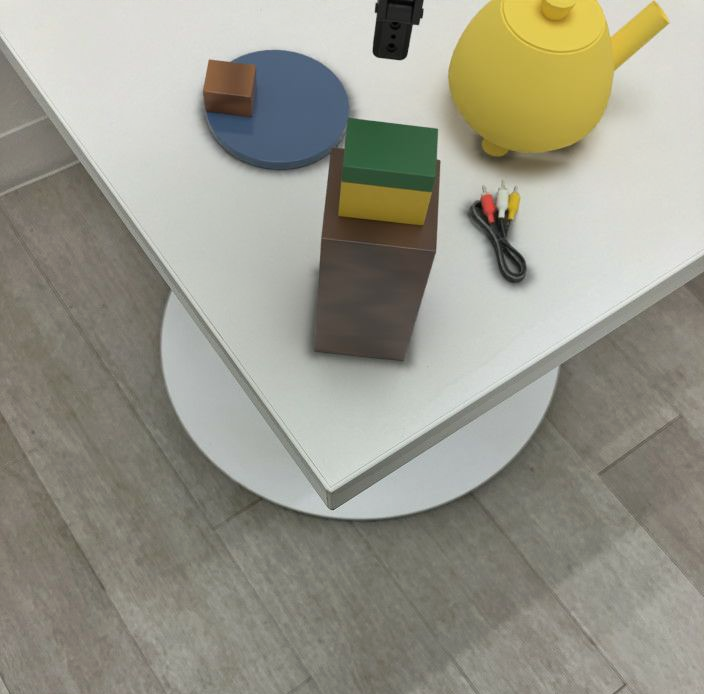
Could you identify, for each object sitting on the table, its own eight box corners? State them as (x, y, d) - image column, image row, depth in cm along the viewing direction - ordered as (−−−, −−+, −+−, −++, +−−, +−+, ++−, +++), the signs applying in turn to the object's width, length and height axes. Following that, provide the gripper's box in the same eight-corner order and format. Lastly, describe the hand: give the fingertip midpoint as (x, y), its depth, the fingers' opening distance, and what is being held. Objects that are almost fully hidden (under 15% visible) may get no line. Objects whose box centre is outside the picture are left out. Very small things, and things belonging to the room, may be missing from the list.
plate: (196, 160, 75) (194, 152, 75) (216, 49, 80) (215, 41, 79) (342, 177, 76) (343, 170, 75) (353, 66, 81) (354, 58, 80)
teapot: (602, 43, 85) (658, -85, 72) (654, 159, 80) (724, 43, 67) (423, 65, 82) (448, -65, 69) (465, 187, 77) (502, 72, 64)
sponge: (337, 216, 55) (342, 166, 51) (342, 170, 57) (347, 117, 52) (423, 226, 55) (436, 177, 51) (425, 180, 57) (438, 128, 52)
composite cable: (528, 283, 74) (536, 267, 71) (478, 284, 73) (484, 268, 71) (513, 195, 77) (520, 177, 75) (465, 196, 76) (470, 178, 74)
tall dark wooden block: (313, 351, 69) (320, 238, 54) (321, 273, 72) (331, 146, 57) (404, 361, 70) (436, 251, 55) (409, 283, 73) (440, 159, 58)
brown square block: (205, 111, 76) (202, 91, 74) (211, 79, 78) (208, 58, 75) (252, 117, 76) (250, 97, 74) (257, 85, 78) (256, 64, 76)
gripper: (366, -409, 39) (341, -78, 54) (347, -224, 34) (326, 83, 49) (518, -386, 39) (451, -64, 54) (522, -199, 34) (447, 97, 49)
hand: (392, 5), depth 51 cm, fingers open, 8 cm apart
